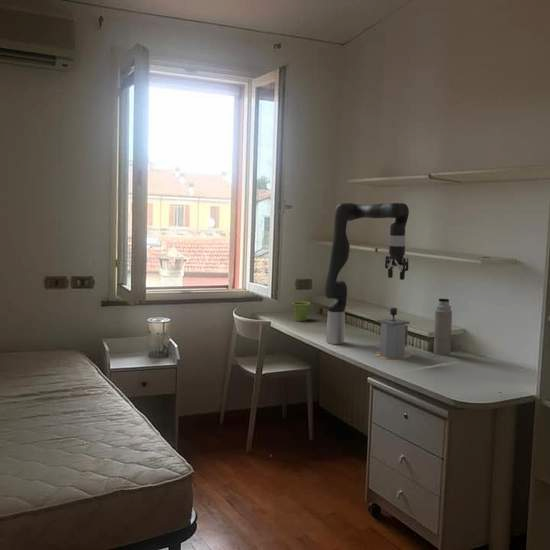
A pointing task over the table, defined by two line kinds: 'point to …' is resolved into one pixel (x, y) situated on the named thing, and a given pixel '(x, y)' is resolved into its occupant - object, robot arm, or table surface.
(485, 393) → the table surface
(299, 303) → the plant pot
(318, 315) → the table surface
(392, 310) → the plunger
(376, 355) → the trivet
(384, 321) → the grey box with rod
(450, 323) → the thermos bottle
